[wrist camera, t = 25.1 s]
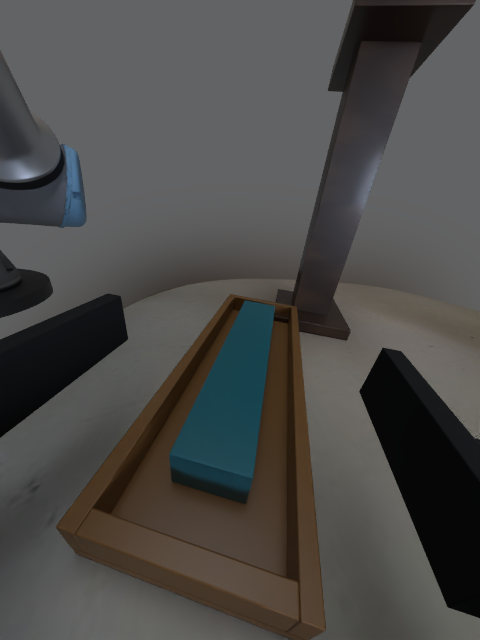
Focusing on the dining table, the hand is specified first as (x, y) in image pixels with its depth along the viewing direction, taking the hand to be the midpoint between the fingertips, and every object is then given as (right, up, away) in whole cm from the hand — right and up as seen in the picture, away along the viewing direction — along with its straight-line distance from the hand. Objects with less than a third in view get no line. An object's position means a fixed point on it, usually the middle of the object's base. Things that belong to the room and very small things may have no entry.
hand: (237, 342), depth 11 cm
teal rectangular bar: (0, -3, +9) cm, 9 cm away
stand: (+11, +2, +23) cm, 25 cm away
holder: (0, -4, +9) cm, 10 cm away
